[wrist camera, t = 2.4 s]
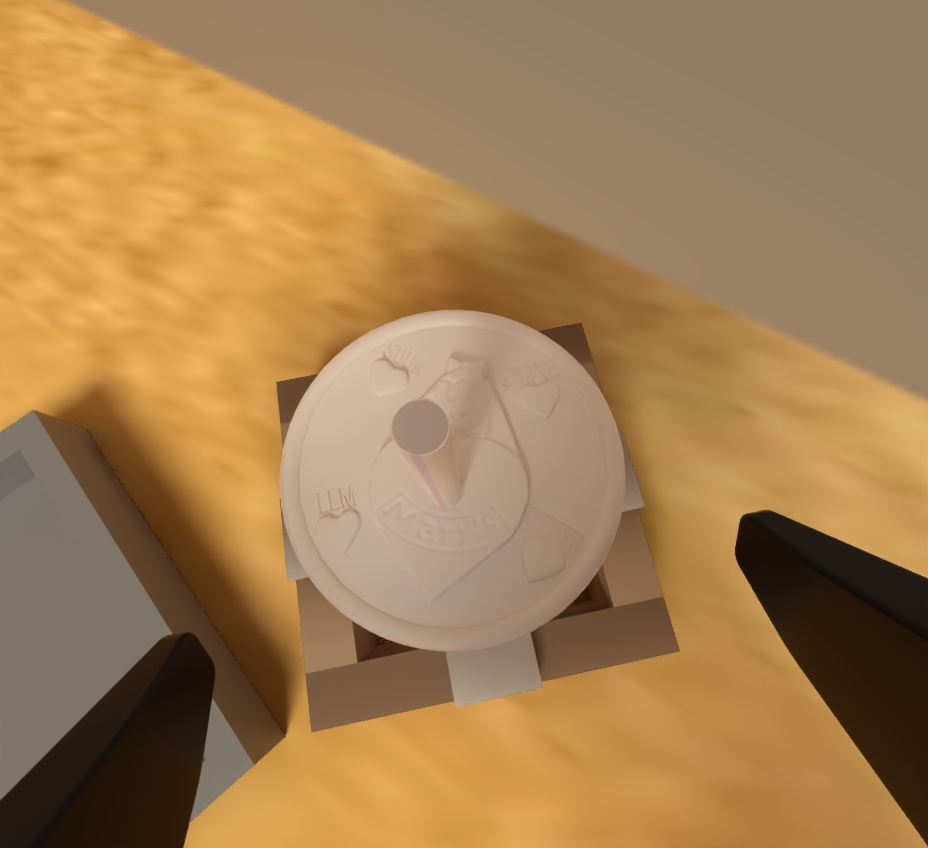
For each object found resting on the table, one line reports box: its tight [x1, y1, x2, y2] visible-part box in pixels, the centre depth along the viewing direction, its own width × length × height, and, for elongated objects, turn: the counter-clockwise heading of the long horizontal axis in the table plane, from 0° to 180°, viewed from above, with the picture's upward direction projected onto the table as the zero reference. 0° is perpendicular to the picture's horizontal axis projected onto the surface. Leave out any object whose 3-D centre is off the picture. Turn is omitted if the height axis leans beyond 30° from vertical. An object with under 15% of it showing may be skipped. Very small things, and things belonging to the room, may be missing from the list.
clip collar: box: [276, 323, 679, 732], centre depth 16 cm, size 11×11×4 cm
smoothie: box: [280, 310, 625, 651], centre depth 11 cm, size 6×6×14 cm
